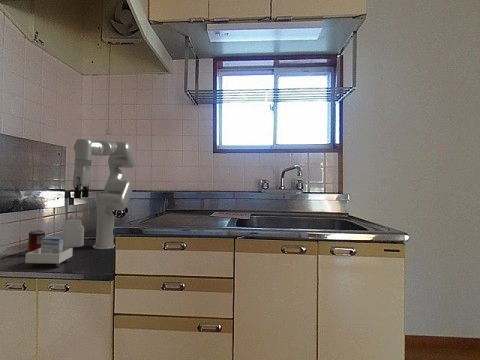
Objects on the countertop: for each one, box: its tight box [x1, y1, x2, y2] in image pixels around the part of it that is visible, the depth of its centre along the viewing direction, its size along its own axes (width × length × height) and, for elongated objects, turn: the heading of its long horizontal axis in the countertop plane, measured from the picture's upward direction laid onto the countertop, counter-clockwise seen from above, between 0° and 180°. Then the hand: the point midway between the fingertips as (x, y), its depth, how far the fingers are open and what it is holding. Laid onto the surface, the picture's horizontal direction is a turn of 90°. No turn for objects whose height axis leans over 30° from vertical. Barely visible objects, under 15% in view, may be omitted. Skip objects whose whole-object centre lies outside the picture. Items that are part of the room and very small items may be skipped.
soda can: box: [27, 229, 46, 253], centre depth 162 cm, size 7×7×12 cm
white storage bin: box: [24, 247, 74, 268], centre depth 146 cm, size 14×14×6 cm
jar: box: [61, 219, 85, 248], centre depth 188 cm, size 12×10×15 cm
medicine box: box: [41, 236, 64, 254], centre depth 147 cm, size 8×4×9 cm, turn 100°
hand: (81, 198), depth 159 cm, fingers open, 9 cm apart
